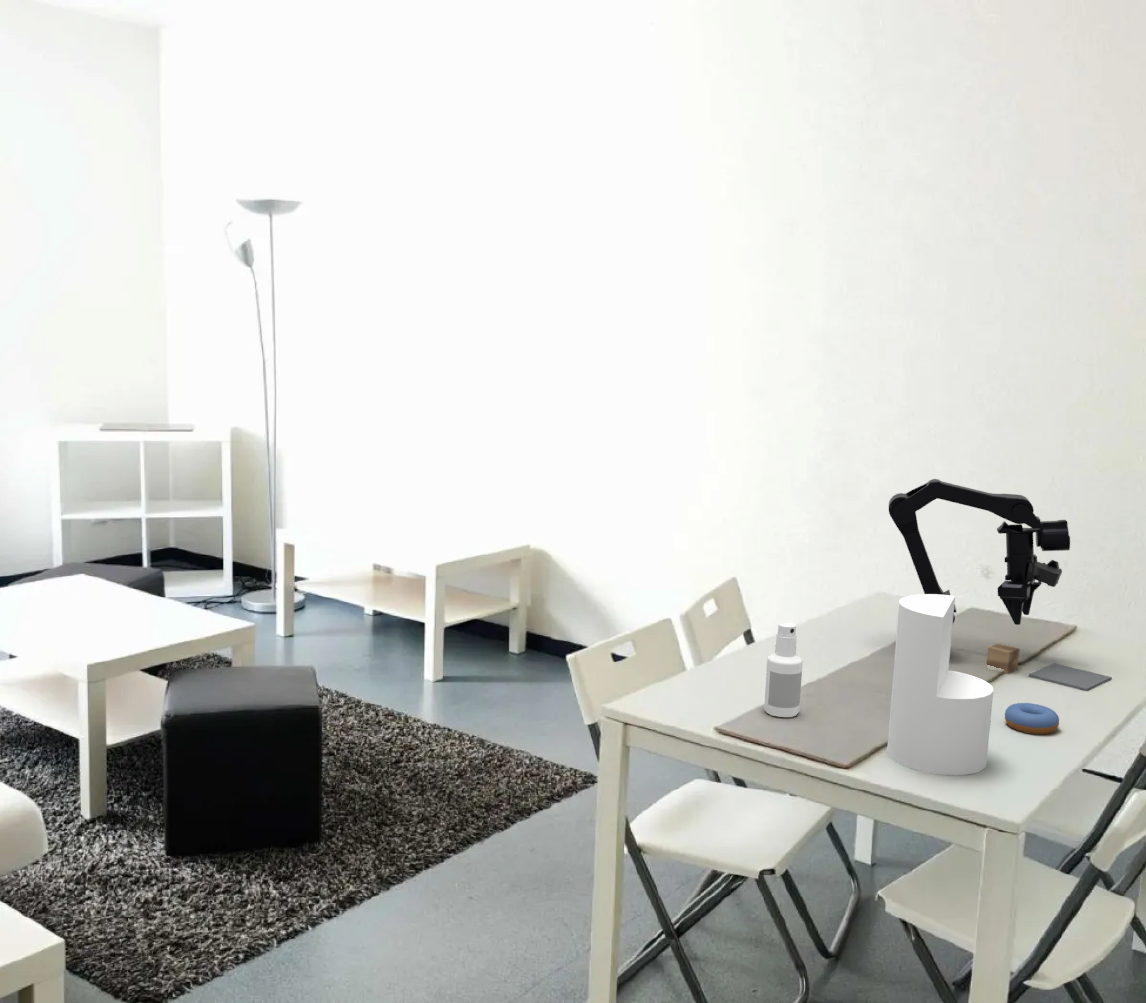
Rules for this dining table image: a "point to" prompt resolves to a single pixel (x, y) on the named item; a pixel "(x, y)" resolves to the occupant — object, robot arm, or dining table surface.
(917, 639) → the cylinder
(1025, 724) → the doughnut
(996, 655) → the walnut cube
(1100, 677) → the charcoal mat
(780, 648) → the spray bottle
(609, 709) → the dining table surface
